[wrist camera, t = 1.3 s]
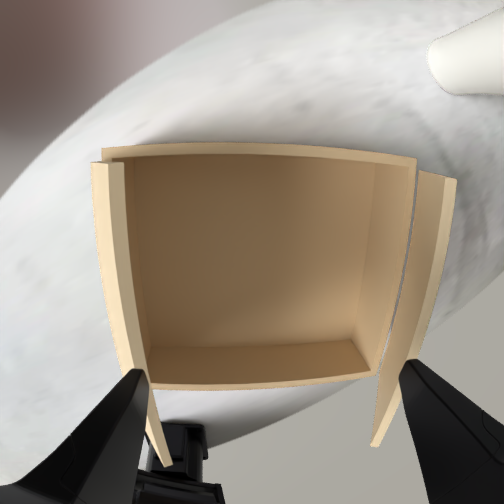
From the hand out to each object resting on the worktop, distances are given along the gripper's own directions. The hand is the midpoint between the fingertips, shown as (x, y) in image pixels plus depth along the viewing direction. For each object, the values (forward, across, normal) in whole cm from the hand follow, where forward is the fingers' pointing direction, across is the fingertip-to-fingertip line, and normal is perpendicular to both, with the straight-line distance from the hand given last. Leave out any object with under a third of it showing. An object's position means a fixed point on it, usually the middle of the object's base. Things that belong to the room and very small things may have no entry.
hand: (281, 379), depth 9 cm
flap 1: (+4, +7, +1) cm, 8 cm away
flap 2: (+5, -8, +2) cm, 9 cm away
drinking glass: (+17, -16, -14) cm, 27 cm away
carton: (+13, 0, +3) cm, 14 cm away
